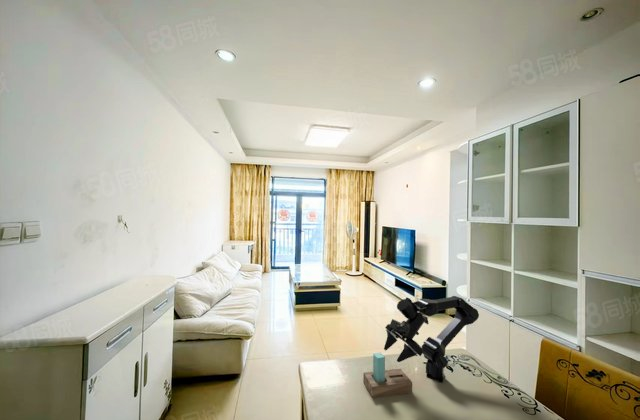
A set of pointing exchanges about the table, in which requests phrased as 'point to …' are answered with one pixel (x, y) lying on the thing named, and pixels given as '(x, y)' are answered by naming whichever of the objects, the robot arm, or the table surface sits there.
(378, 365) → the teal square peg
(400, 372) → the bore block
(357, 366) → the table surface
